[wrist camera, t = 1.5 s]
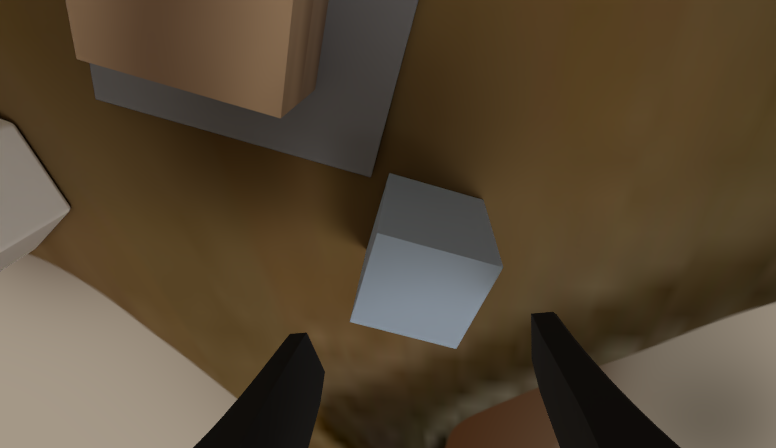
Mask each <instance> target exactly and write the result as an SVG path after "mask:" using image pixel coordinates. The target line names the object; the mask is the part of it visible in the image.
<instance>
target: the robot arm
mask: <svg viewBox="0 0 776 448" xmlns="http://www.w3.org/2000/svg"><path fill="white" fill-rule="evenodd" d="M531 333H532V362H533V366H534V370H535V374H536V378H537V382H538V386H539V390H540V393H541V396H542V399H543V401H544V404H545V407H546V410H547V413H548V416H549V418H550V421H551V424H552V426H553V429H554V432H555V435H556V438H557V440H558V443H559V446H560V448H680V447H679V446H678V445H677V444H676V443H675V442H674V441H672V440H671V439H670V438H669V437H668V436H667V435H666V434H665V433H664V432H663V431H661V430H660V429H659V428H658V427H657V426H656V425H655V424H654V423H653V422H652V421H651V420H650V419H649V418H648V417H647V416H645V414H643V413H642V412H641V411H640V410H639V409H638V408H637V407H636V406H635V405H634V404H633V403H632V402H631V401H630V400H629V399H628V398H627V397H626V395H625V394H624V393H622V391H621V390H620V389H619V388H618V387H617V386H616V385H615V384H614V383H613V382H612V381H611V380H610V379H609V378H608V377H607V375H606V374H605V373H604V372H603V371H602V370H601V369H600V368H599V366H598V365H597V364H596V363H595V362H594V361H593V360H592V359H591V357H590V356H589V355H588V354H587V353H586V352H585V350H584V349H583V348H582V347H581V346H580V344H579V343H578V342H577V341H576V340H575V338H574V337H573V336H572V335H571V333H570V332H569V331H568V329H567V328H566V327H565V325H564V324H563V323H562V321H561V320H560V319H559V317H558V316H557V314H555V313H554V312H546V313H534V314H531ZM324 373H325V371H324V369H323V367H322V365H321V362H320V360H319V358H318V356H317V354H316V352H315V349H314V347H313V345H312V343H311V341H310V339H309V337H308V334H307V333H296V334H290V335H289V336H288V337H287V338H286V340H285V341H284V342H283V343H282V345H281V346H280V347H279V348H278V350H277V351H276V352H275V354H274V355H273V356H272V357H271V359H270V360H269V361H268V362H267V364H266V365H265V366H264V368H263V369H262V370H261V371H260V373H259V374H258V375H257V376H256V378H255V379H254V380H253V381H252V383H251V384H250V385H249V386H248V388H247V389H246V390H245V391H244V392H243V394H242V395H241V396H240V397H239V398H238V400H237V401H236V402H235V403H234V404H233V405H232V406H231V408H230V409H229V410H228V411H227V412H226V413H225V415H224V416H223V417H222V418H221V419H220V420H219V421H218V422H217V424H216V425H215V426H214V427H213V428H212V429H211V430H210V431H209V432H208V433H207V434H206V435H205V436H204V437H203V438H202V439H201V441H199V442H198V443H197V444H196V445H195V446H194V447H193V448H308V447H309V443H310V439H311V436H312V432H313V428H314V425H315V421H316V417H317V413H318V409H319V406H320V401H321V395H322V388H323V381H324Z"/></svg>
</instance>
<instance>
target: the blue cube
mask: <svg viewBox="0 0 776 448" xmlns="http://www.w3.org/2000/svg"><path fill="white" fill-rule="evenodd" d="M502 268H503V265H502V262H501V258H500V255H499V252H498V248H497V245H496V241H495V238H494V234H493V231H492V228H491V224H490V221H489V217H488V214H487V210H486V207H485V204H484V200H482V199H479V198H475V197H472V196H468V195H465V194H461V193H458V192H454V191H451V190H447V189H444V188H440V187H437V186H433V185H430V184H426V183H423V182H419V181H416V180H412V179H409V178H405V177H402V176H398V175H395V174H391V173H389V176H388V179H387V182H386V186H385V189H384V192H383V196H382V199H381V203H380V206H379V209H378V213H377V216H376V220H375V223H374V226H373V230H372V233H371V236H370V240H369V243H368V247H367V250H366V254H365V259H364V263H363V267H362V272H361V276H360V280H359V285H358V289H357V293H356V298H355V302H354V306H353V311H352V315H351V319H350V322H352V323H356V324H360V325H364V326H368V327H372V328H376V329H380V330H384V331H388V332H392V333H396V334H400V335H404V336H408V337H412V338H415V339H419V340H423V341H427V342H431V343H435V344H439V345H443V346H447V347H451V348H455V349H456V348H457V346H458V345H459V343H460V341H461V340H462V338H463V336H464V334H465V333H466V331H467V329H468V327H469V326H470V324H471V322H472V320H473V319H474V317H475V315H476V314H477V312H478V310H479V308H480V307H481V305H482V303H483V301H484V300H485V298H486V296H487V294H488V293H489V291H490V289H491V287H492V286H493V284H494V282H495V281H496V279H497V277H498V275H499V274H500V272H501V270H502Z"/></svg>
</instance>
